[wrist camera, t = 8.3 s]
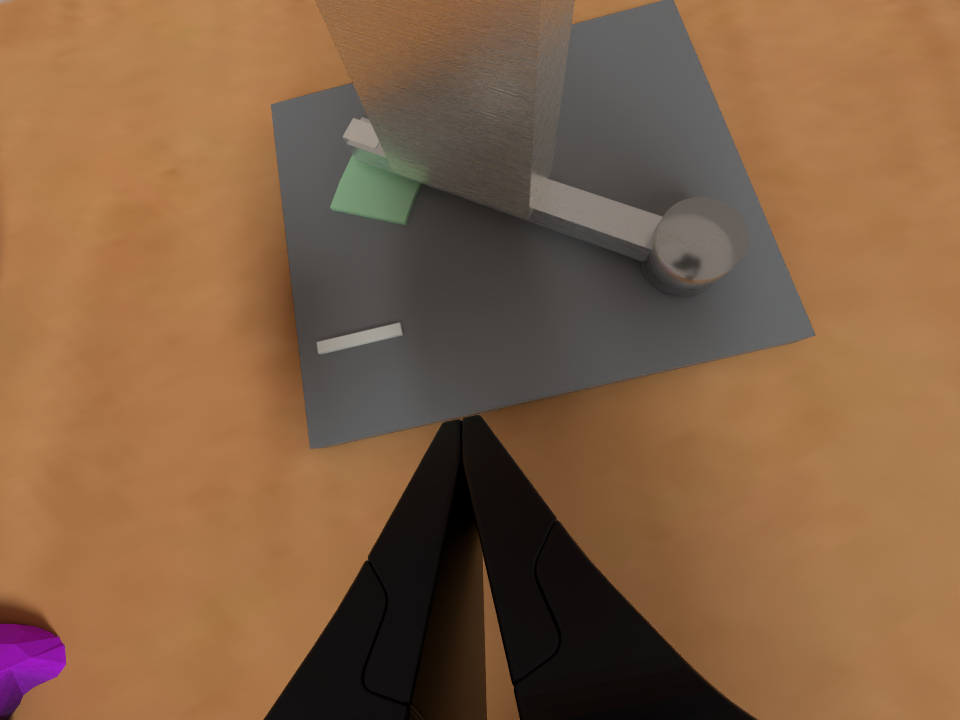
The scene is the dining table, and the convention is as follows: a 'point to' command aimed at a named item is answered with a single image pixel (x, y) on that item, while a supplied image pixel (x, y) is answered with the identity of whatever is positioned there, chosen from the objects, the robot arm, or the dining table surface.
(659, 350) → the plate
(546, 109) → the frosted block on spoon
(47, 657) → the cloth
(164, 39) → the dining table surface
